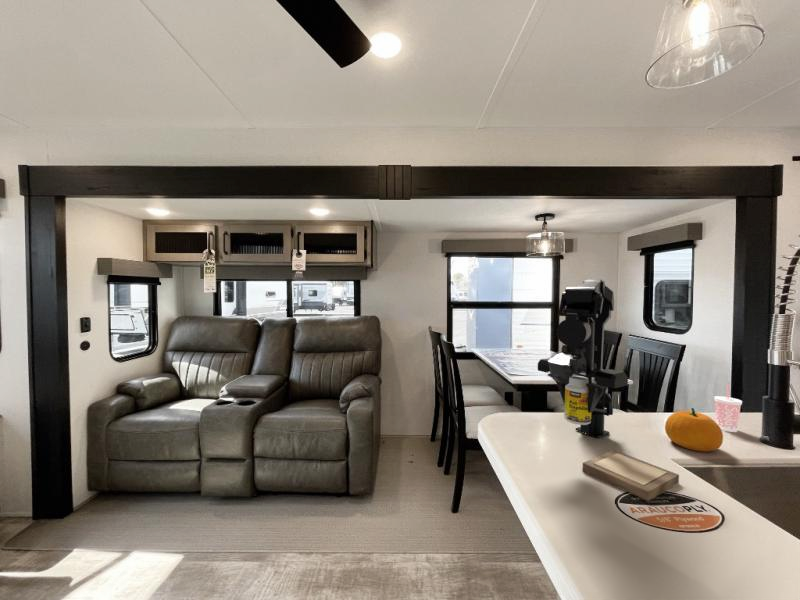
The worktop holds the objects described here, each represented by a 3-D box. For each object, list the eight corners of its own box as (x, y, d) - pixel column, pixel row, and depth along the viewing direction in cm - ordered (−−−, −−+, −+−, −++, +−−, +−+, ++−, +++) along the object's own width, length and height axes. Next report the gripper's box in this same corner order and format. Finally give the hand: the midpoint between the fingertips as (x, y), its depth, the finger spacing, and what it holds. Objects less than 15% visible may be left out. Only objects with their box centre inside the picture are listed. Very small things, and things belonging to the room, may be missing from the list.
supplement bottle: (565, 423, 79) (566, 378, 79) (563, 415, 84) (564, 373, 84) (592, 427, 77) (594, 381, 77) (589, 419, 82) (590, 376, 82)
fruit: (658, 443, 93) (659, 406, 92) (671, 433, 100) (673, 398, 100) (716, 461, 83) (718, 419, 83) (727, 448, 90) (728, 410, 90)
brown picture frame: (614, 457, 84) (614, 449, 84) (678, 483, 73) (678, 473, 73) (582, 470, 77) (582, 461, 77) (648, 501, 66) (648, 490, 66)
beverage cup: (711, 428, 104) (713, 381, 104) (714, 423, 108) (715, 378, 108) (740, 434, 99) (742, 386, 99) (741, 429, 104) (743, 382, 103)
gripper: (523, 338, 84) (521, 402, 84) (600, 349, 68) (597, 428, 68) (552, 335, 90) (551, 395, 90) (630, 346, 74) (628, 419, 74)
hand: (577, 408), depth 80 cm, fingers closed on supplement bottle, 5 cm apart
